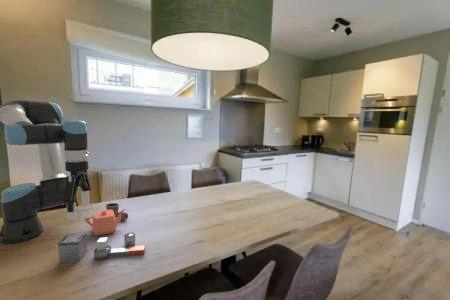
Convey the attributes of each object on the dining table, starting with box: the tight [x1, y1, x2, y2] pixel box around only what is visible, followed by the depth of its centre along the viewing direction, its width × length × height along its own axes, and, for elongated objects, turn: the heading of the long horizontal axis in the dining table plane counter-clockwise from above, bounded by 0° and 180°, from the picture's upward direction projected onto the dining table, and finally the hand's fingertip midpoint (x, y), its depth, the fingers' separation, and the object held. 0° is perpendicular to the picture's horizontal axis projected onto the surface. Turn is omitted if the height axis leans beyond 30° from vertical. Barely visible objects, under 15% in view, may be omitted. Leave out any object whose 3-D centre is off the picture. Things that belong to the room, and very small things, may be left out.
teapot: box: [84, 208, 127, 237], centre depth 110 cm, size 12×18×10 cm, turn 118°
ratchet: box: [93, 237, 146, 261], centre depth 91 cm, size 19×6×7 cm, turn 102°
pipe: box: [105, 202, 129, 221], centre depth 123 cm, size 6×13×8 cm, turn 78°
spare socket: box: [123, 231, 136, 248], centre depth 98 cm, size 4×4×5 cm
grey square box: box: [57, 232, 88, 264], centre depth 89 cm, size 7×7×8 cm
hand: (79, 212), depth 90 cm, fingers open, 13 cm apart
